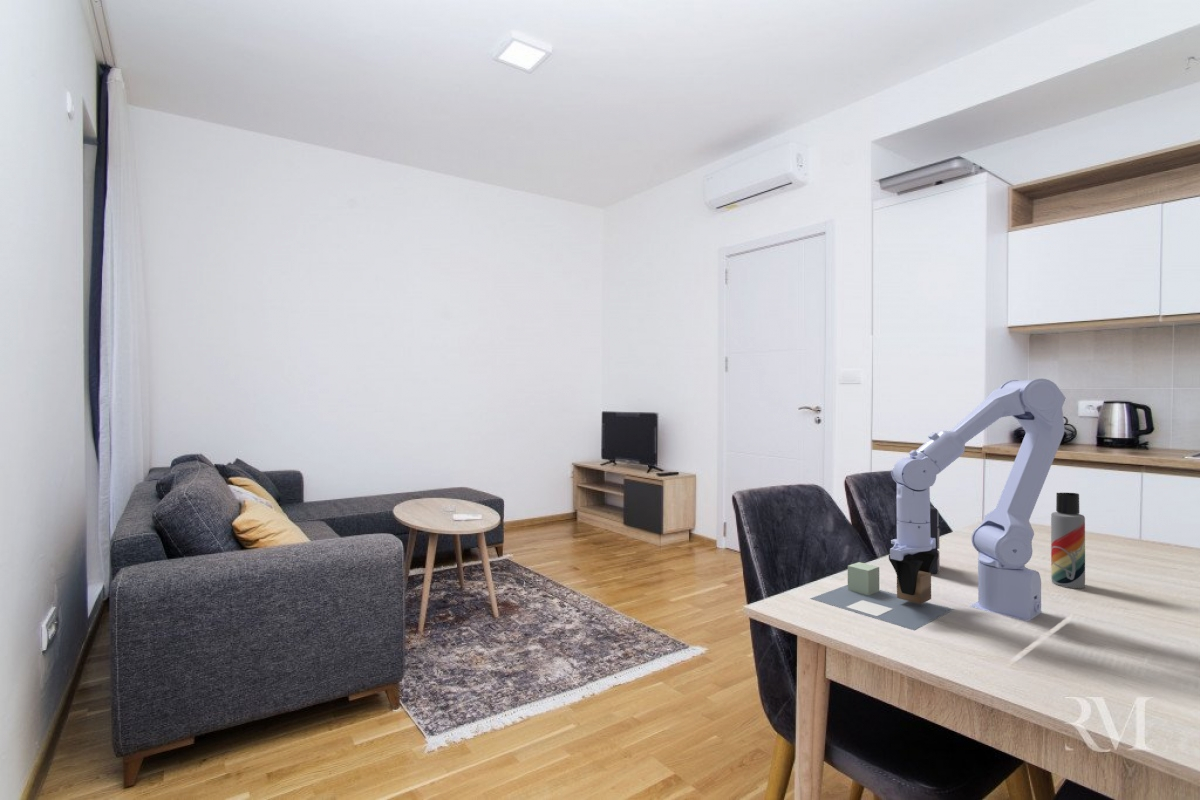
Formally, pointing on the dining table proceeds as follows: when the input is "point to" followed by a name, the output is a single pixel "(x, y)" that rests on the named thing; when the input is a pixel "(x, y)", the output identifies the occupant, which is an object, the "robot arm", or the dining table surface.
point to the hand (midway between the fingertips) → (914, 591)
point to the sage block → (863, 578)
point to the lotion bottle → (1068, 542)
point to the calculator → (934, 534)
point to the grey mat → (884, 607)
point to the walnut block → (918, 589)
